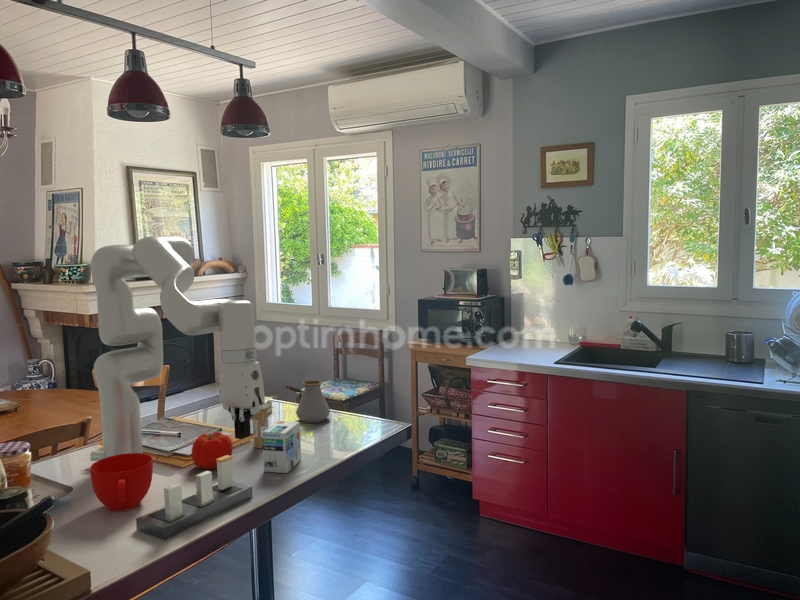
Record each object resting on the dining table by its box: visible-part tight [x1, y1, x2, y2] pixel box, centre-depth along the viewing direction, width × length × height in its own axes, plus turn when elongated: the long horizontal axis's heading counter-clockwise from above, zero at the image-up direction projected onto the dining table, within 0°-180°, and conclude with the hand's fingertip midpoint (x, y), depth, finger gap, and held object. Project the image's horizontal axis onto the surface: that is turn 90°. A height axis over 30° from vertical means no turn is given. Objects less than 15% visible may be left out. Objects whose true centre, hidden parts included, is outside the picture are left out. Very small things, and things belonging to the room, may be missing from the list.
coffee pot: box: [282, 380, 331, 424], centre depth 197 cm, size 21×12×15 cm, turn 157°
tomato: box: [191, 431, 234, 470], centre depth 160 cm, size 11×11×9 cm
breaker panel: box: [135, 470, 253, 541], centre depth 131 cm, size 24×9×9 cm, turn 148°
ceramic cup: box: [89, 452, 154, 512], centre depth 134 cm, size 13×17×10 cm
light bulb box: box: [262, 420, 302, 474], centre depth 159 cm, size 11×7×11 cm, turn 168°
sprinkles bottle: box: [252, 400, 269, 449], centre depth 175 cm, size 5×5×14 cm
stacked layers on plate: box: [265, 396, 274, 416], centre depth 211 cm, size 10×9×6 cm
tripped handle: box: [216, 455, 233, 490], centre depth 138 cm, size 3×2×7 cm, turn 148°
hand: (243, 437), depth 134 cm, fingers closed
